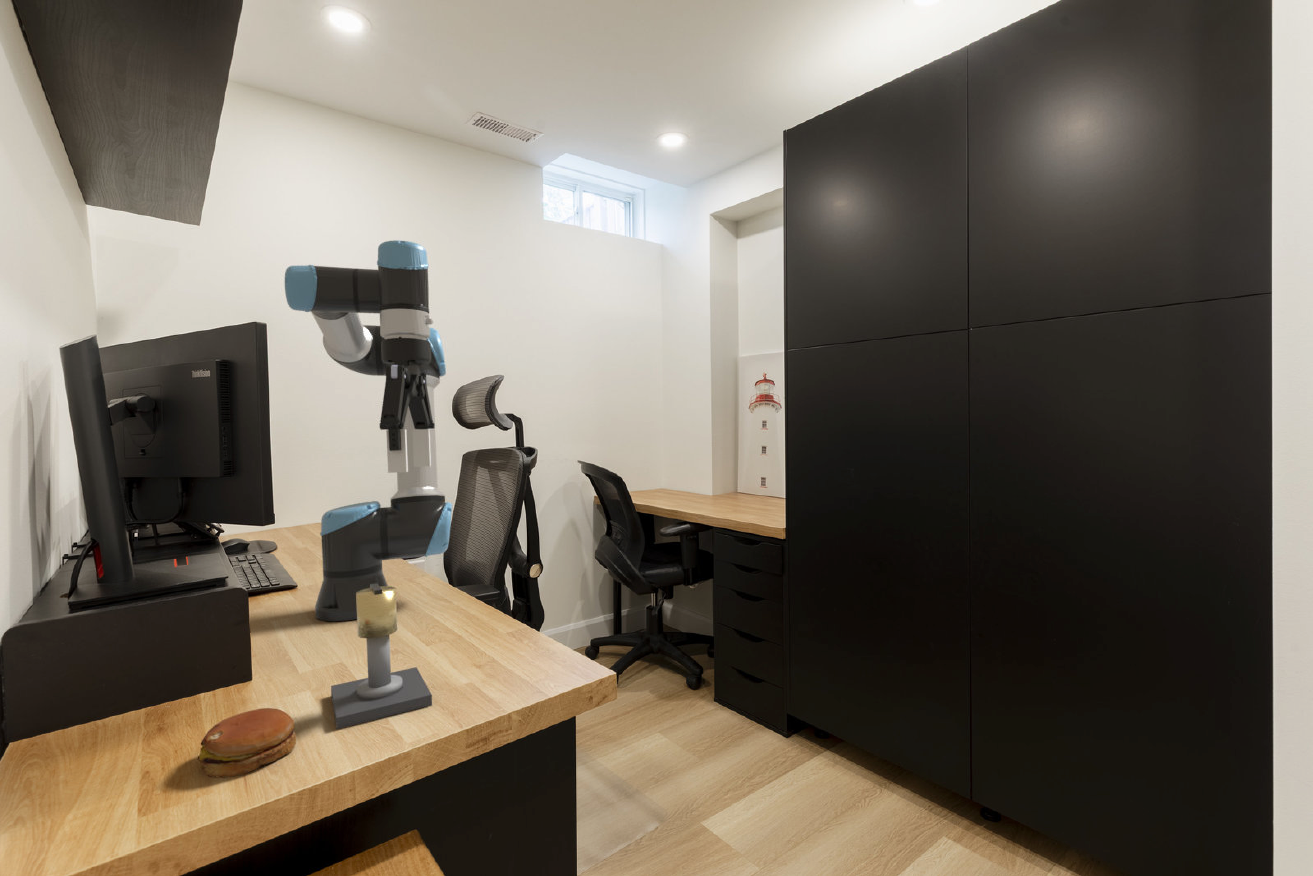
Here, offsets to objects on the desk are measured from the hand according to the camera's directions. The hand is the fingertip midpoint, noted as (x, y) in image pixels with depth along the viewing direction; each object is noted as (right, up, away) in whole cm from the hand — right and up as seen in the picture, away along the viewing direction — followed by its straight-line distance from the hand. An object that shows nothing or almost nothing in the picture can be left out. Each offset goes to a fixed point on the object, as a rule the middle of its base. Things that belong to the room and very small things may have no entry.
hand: (411, 469), depth 100 cm
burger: (-9, -34, -26) cm, 44 cm away
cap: (0, -23, -12) cm, 26 cm away
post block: (0, -33, -11) cm, 35 cm away
